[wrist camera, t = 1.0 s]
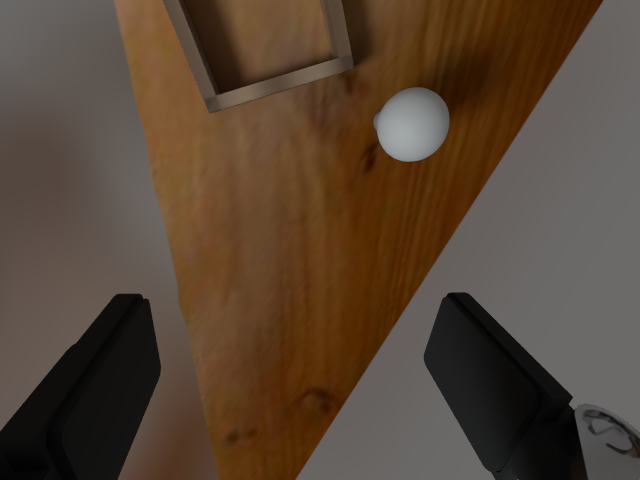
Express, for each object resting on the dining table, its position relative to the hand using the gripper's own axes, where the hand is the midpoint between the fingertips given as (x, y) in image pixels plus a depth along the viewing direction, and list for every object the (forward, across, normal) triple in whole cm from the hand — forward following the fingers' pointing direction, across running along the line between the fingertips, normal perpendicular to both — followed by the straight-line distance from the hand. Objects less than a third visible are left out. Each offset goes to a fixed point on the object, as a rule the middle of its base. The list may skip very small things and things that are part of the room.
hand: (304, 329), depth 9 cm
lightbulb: (+27, -11, -6) cm, 30 cm away
